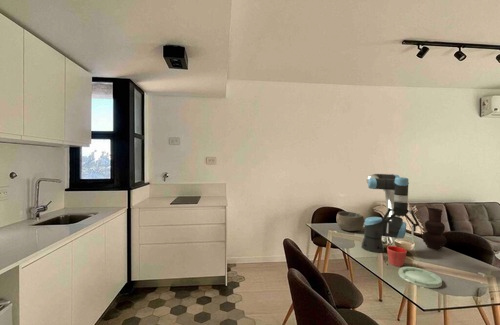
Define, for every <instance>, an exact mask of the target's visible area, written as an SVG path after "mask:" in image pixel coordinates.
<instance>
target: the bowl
mask: <svg viewBox="0 0 500 325" xmlns="http://www.w3.org/2000/svg"><path fill="white" fill-rule="evenodd" d="M335 218H336V223H337V225H338V226H339V228H340V229H341V230H343V231H347V232H356V231H359V230H362V228H363V227H364V226H365V225H364V224H365V217H364V215H363V214H361V213H357V212H353V211H338V212H337V214H336V217H335Z"/></svg>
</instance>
